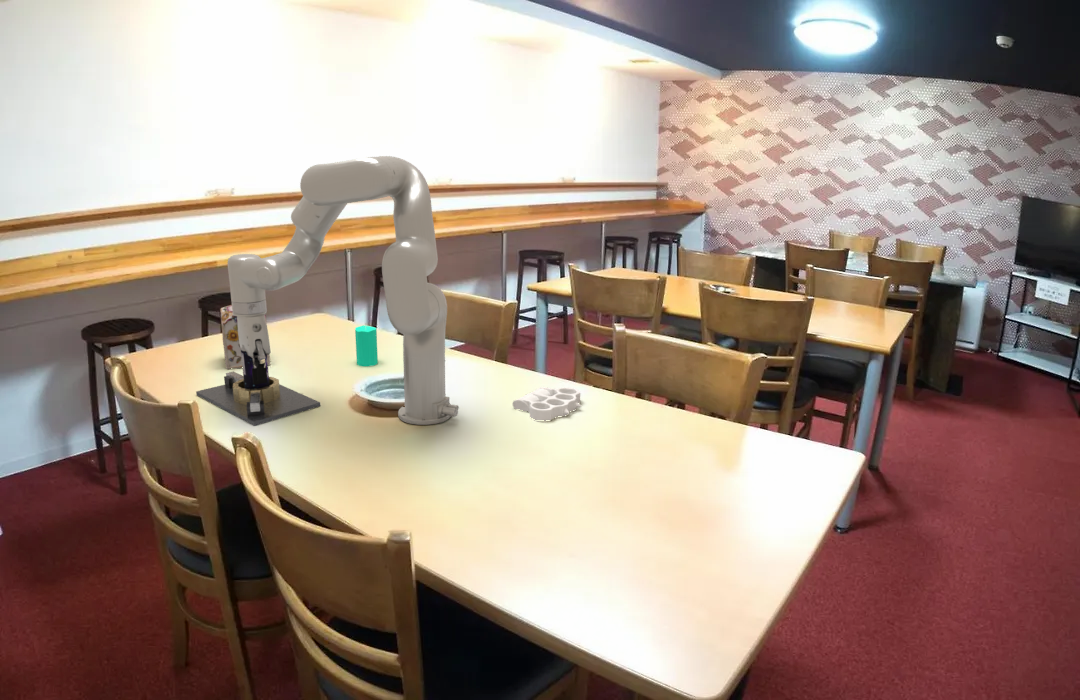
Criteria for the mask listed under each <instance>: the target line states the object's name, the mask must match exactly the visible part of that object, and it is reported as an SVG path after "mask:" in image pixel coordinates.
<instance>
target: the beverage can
mask: <svg viewBox="0 0 1080 700" xmlns="http://www.w3.org/2000/svg"><path fill="white" fill-rule="evenodd" d="M263 350H264V349H263ZM264 351H265V350H264ZM253 354H254V355H258V353H253ZM264 354H265V357H266V359H265V361H266V371H267V383H262V384H256V385H254V384H253V377H252V368H253V365H252V359H251V357H250V356H248V355H247V352H246V350H245V348H244V346H243V345H242V348H241V358H242V367H243V368H242V376H243V377H244V386H245V389H259V388H264V387H268V386H270V384H269V377H270V376H269V375H270V374H269V365H268V363H267V354H266V353H265V352H264ZM257 359H258V358H255V362H256V360H257Z"/></svg>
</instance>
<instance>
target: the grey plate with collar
mask: <svg viewBox="0 0 1080 700" xmlns="http://www.w3.org/2000/svg"><path fill="white" fill-rule="evenodd" d="M223 379H224V384H221V385H217V386H212V387H209V388H204V389H201V390H197V391H195V393H196V397H199V398H201V399H203V400H205V401H206V402H209V403H211V404H213V405H214V406H216V407H218V408H220V409H221V410H223V411H225V412H227V413H229V414H230V415H233V416H234V417H236V418H238V419H241V420H242V421H244V422H246V423H248V424H250V425H251V426H253V427H255V426H258V425H263V424H265V423H269V422H273V421H275V420H279V419H282V418H285V417H288V416H292V414H293V415H296V414H299V413H301V412H302V411H303V412H305V411H309V409H310V410H313V409H315V408H319V407H321V406H322V405H321V402H320V401H318V400H316V399H315V398H312V397H309V396H307V395H304V394H303V393H301V392H298V391H296V390H293V389H291V388H289V387H287V386H284V385H282V384H280V379H278V378H277V377H276V378H275V377H274V376H269V384H270V386H268V387H264V388H259V389H245V386H244V377H243V374H241V373H238V372H236V371H234V370H233V371H229V372H226V373H225V375H224V376H223ZM272 420H273V421H272Z"/></svg>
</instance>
